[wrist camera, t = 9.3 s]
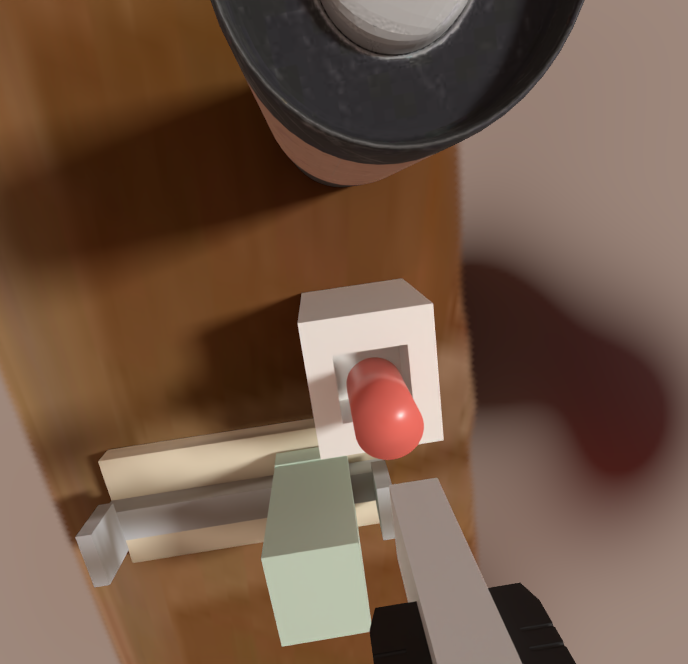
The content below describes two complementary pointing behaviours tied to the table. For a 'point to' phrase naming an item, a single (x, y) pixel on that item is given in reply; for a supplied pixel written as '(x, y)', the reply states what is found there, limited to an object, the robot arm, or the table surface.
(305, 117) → the travel mug
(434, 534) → the robot arm
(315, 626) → the carriage
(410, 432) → the button
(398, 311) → the hollow box
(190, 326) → the table surface
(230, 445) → the rail
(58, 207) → the table surface
